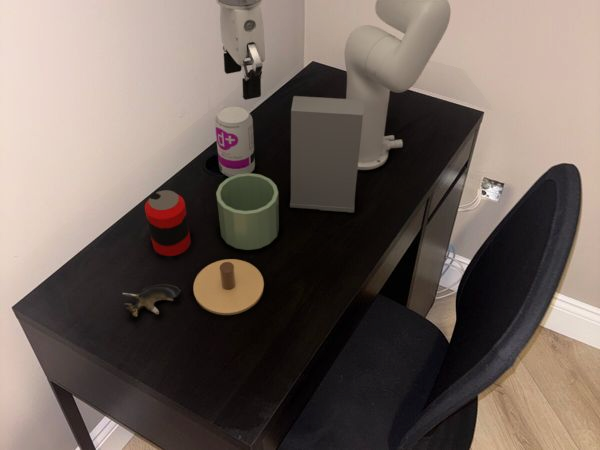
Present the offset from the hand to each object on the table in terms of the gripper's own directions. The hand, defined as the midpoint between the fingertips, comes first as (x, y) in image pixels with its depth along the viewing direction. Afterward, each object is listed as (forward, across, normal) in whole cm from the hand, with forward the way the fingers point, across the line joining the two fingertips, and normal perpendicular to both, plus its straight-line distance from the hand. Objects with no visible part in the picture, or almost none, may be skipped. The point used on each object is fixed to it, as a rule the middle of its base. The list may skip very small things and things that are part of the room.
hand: (242, 84), depth 110 cm
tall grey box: (+30, -5, -16) cm, 34 cm away
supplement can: (+30, +14, -3) cm, 33 cm away
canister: (+30, -7, +2) cm, 31 cm away
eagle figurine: (+31, -19, +25) cm, 44 cm away
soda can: (+31, -4, +18) cm, 36 cm away
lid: (+30, -20, +11) cm, 38 cm away
